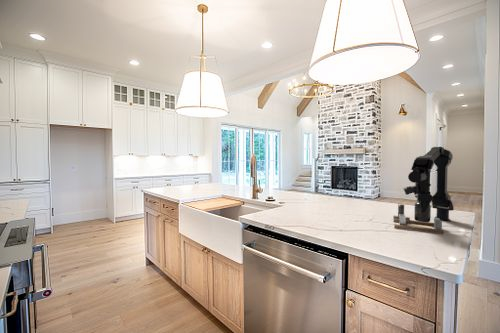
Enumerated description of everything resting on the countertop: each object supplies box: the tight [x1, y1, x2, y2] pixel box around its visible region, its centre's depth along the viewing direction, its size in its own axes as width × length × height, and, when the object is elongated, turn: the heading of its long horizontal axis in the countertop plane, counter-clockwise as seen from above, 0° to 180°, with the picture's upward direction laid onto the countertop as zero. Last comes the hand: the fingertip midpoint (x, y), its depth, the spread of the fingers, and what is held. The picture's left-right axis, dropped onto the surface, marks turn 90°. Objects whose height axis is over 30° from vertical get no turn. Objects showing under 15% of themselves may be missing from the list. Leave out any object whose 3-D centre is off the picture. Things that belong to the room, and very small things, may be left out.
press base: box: [392, 215, 444, 235], centre depth 128 cm, size 22×20×5 cm
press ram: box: [397, 204, 407, 226], centre depth 133 cm, size 18×3×8 cm, turn 150°
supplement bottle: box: [413, 199, 432, 222], centre depth 124 cm, size 7×7×12 cm
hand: (422, 210), depth 124 cm, fingers closed on supplement bottle, 7 cm apart
